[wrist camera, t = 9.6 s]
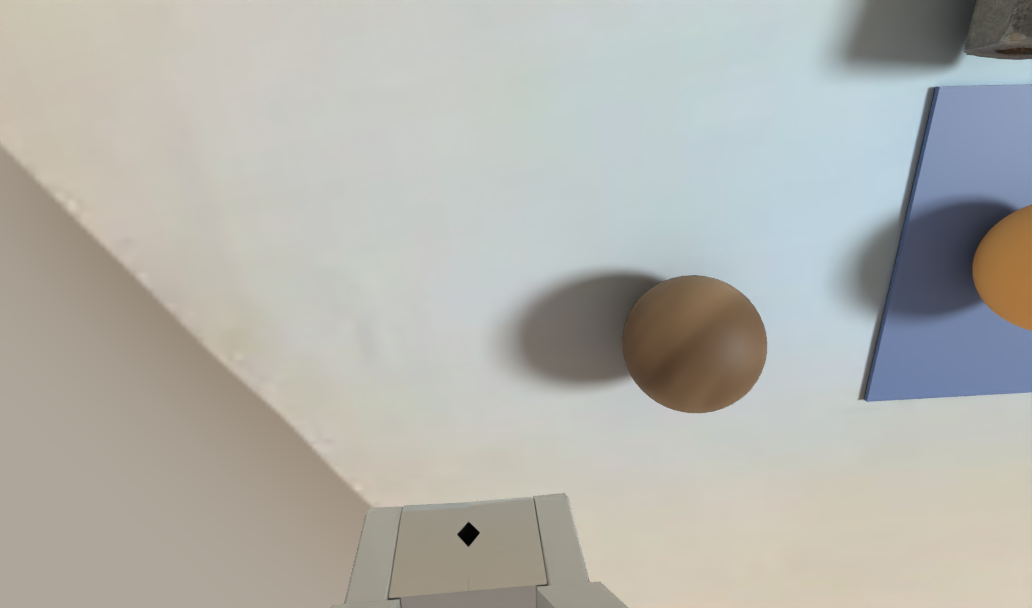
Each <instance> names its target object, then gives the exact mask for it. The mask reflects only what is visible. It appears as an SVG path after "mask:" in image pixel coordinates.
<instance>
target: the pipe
mask: <svg viewBox="0 0 1032 608" xmlns="http://www.w3.org/2000/svg"><path fill="white" fill-rule="evenodd" d="M964 52H965V53H966V55H974V56H979V57H988V58H996V59H1013V60H1023V59H1032V0H977V1H976V5H975V8H974V12H973V16H972V19H971V23H970V27H969V32H968V36H967V39H966V43H965V49H964Z"/></svg>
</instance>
